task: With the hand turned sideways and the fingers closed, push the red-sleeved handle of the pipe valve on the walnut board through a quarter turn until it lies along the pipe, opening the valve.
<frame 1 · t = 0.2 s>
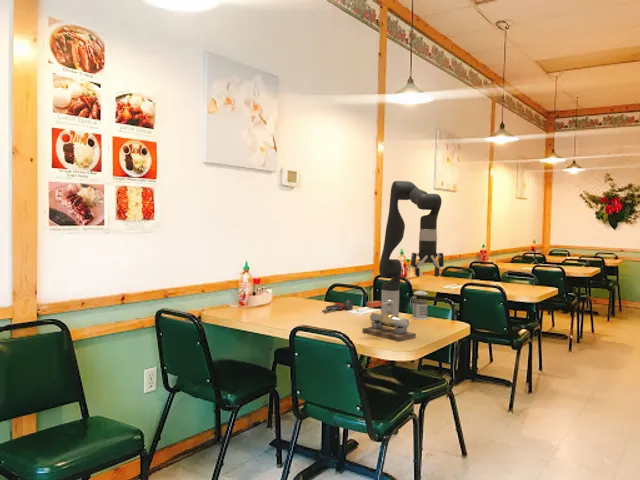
hand: (426, 276, 225), 29 cm above the table, tool pointing down, fingers open, 8 cm apart
valve: (334, 310, 304), on the table
pipe valve: (389, 317, 239), on the base board, point 8 cm above the table
base board: (388, 335, 239), on the table
french press: (418, 318, 285), on the table
valve lever: (380, 303, 234), point 15 cm above the table, hinge at 0.0°
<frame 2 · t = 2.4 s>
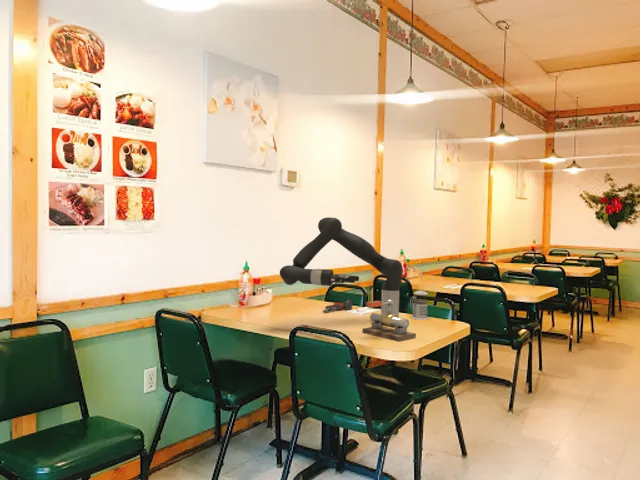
hand: (356, 279, 233), 26 cm above the table, tool horizontal, fingers open, 7 cm apart
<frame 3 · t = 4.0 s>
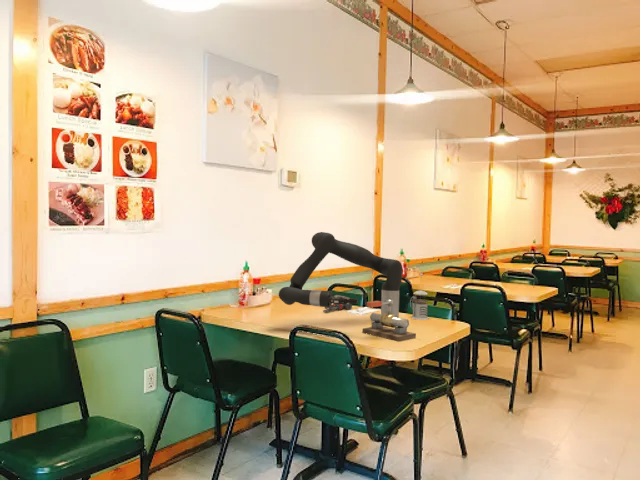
hand: (357, 301, 233), 16 cm above the table, tool horizontal, fingers closed
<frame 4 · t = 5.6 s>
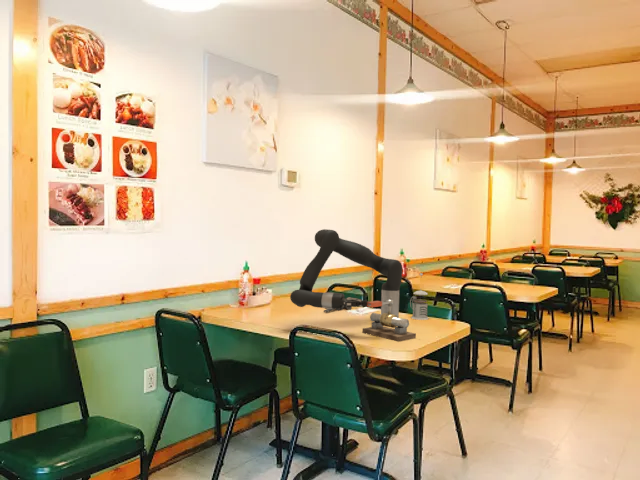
hand: (369, 303, 232), 15 cm above the table, tool horizontal, fingers closed
valve lever: (380, 303, 234), point 15 cm above the table, hinge at 0.3°, touching gripper
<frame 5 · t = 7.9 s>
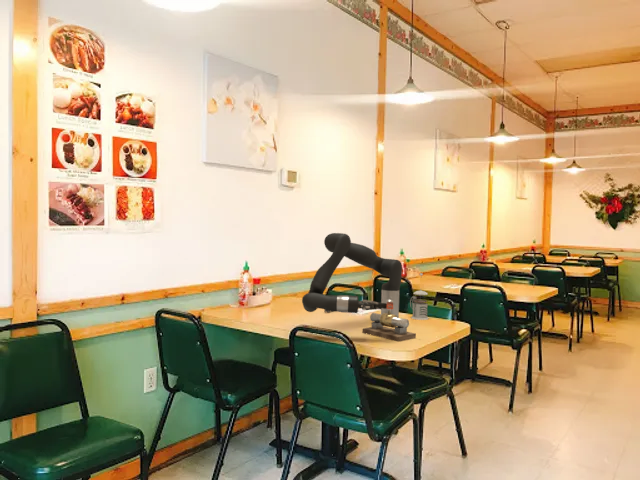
hand: (386, 305, 227), 15 cm above the table, tool horizontal, fingers closed
valve lever: (389, 304, 232), point 15 cm above the table, hinge at 40.5°, touching gripper
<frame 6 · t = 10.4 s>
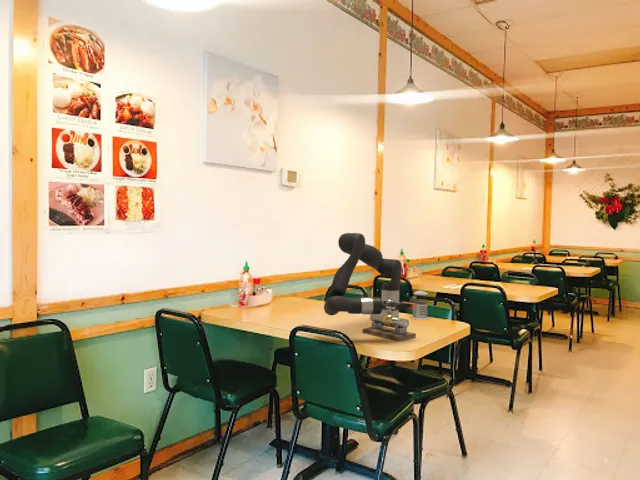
hand: (407, 305, 229), 15 cm above the table, tool horizontal, fingers closed
valve lever: (400, 303, 234), point 15 cm above the table, hinge at 90.5°, touching gripper
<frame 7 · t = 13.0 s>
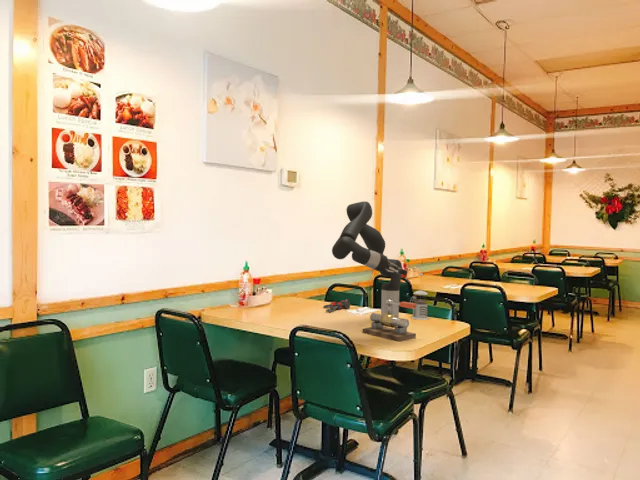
hand: (405, 273, 231), 30 cm above the table, tool tilted 70°, fingers closed
valve lever: (400, 303, 234), point 15 cm above the table, hinge at 90.5°
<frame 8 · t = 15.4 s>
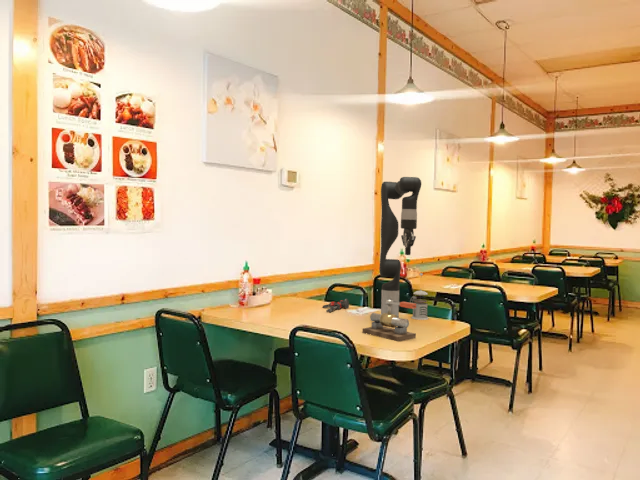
hand: (407, 254, 247), 37 cm above the table, tool pointing down, fingers closed
at the end: valve lever at +90° (first picture: +0°); french press moved 0.2 cm from its start; valve moved 3.3 cm from its start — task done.
